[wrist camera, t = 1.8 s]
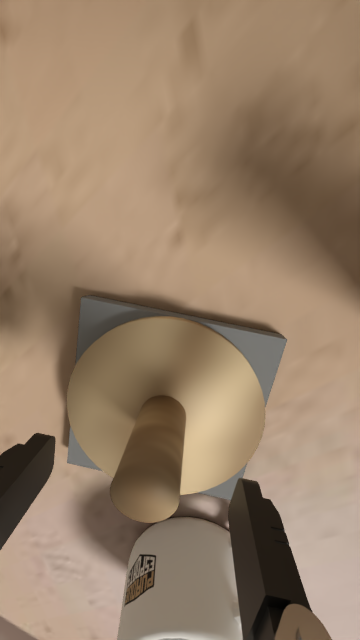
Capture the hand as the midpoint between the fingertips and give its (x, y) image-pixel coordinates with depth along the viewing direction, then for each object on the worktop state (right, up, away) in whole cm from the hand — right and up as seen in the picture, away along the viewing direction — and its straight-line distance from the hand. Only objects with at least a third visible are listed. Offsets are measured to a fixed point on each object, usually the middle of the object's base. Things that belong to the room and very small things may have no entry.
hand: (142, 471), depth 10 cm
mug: (+3, -12, +9) cm, 16 cm away
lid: (+1, +1, +5) cm, 5 cm away
